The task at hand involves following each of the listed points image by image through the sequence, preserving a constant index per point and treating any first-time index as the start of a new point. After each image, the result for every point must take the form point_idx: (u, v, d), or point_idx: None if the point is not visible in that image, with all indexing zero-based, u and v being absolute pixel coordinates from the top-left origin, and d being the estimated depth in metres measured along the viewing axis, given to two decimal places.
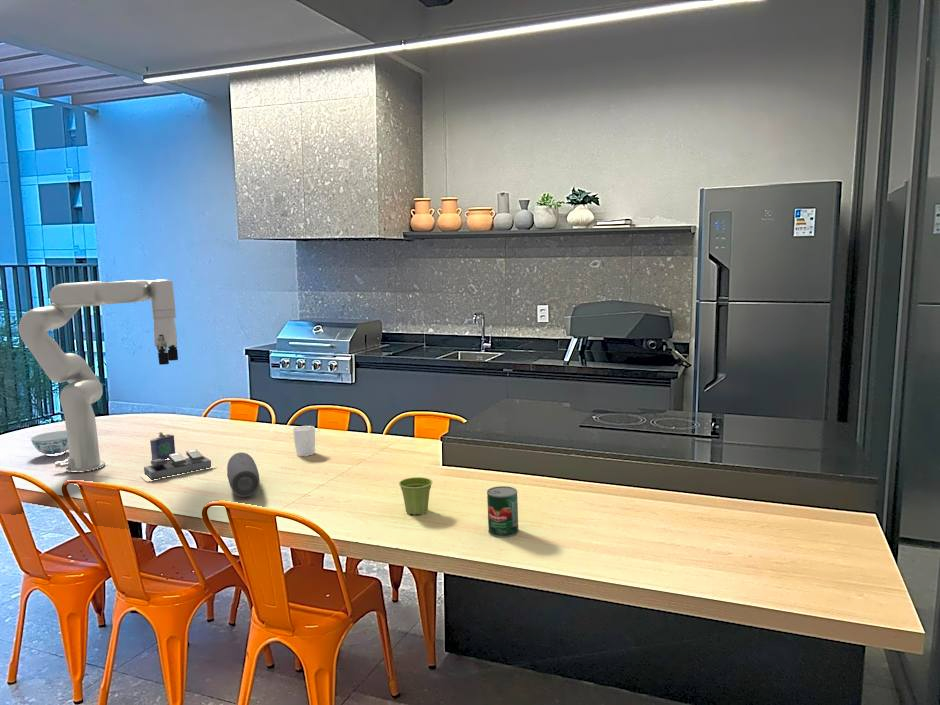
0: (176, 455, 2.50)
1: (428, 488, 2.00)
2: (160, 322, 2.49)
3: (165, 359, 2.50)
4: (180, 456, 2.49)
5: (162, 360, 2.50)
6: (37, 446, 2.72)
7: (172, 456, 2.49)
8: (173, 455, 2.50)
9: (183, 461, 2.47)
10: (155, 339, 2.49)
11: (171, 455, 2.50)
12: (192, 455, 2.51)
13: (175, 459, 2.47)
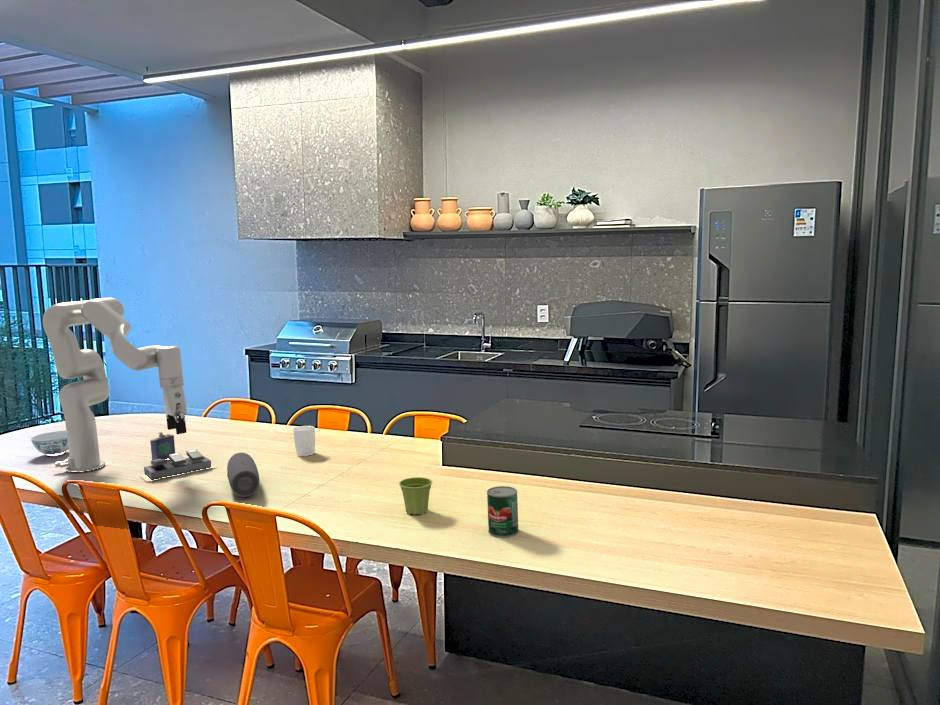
0: (176, 455, 2.50)
1: (428, 488, 2.00)
2: None
3: None
4: (180, 456, 2.49)
5: None
6: (37, 446, 2.72)
7: (172, 456, 2.49)
8: (173, 455, 2.50)
9: (183, 461, 2.47)
10: None
11: (171, 455, 2.50)
12: (192, 455, 2.51)
13: (175, 459, 2.47)
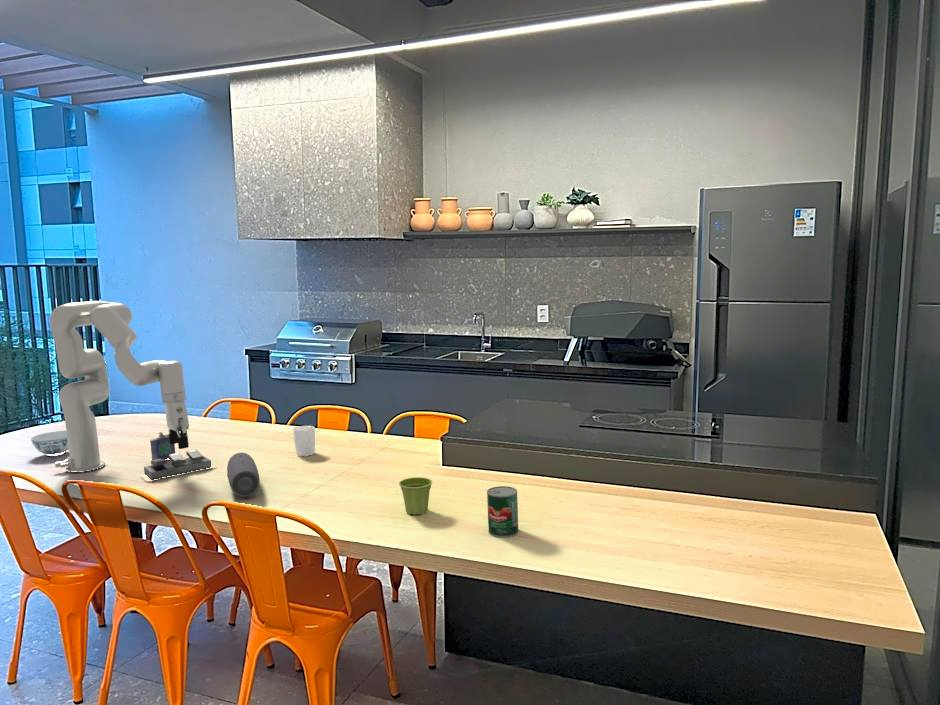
0: (176, 455, 2.50)
1: (428, 488, 2.00)
2: None
3: None
4: (180, 456, 2.49)
5: None
6: (37, 446, 2.72)
7: (172, 456, 2.49)
8: (173, 455, 2.50)
9: (183, 461, 2.47)
10: None
11: (171, 455, 2.50)
12: (192, 455, 2.51)
13: (175, 459, 2.47)
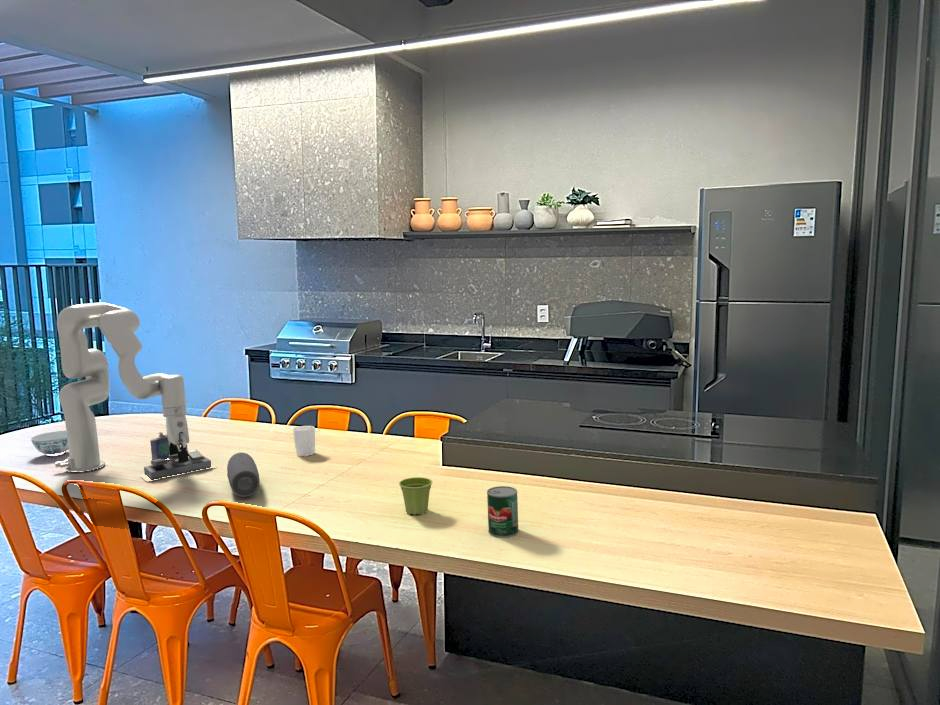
0: (176, 455, 2.50)
1: (428, 488, 2.00)
2: None
3: None
4: None
5: None
6: (37, 446, 2.72)
7: (172, 456, 2.49)
8: (173, 455, 2.50)
9: None
10: None
11: (171, 455, 2.50)
12: (192, 455, 2.51)
13: (175, 459, 2.47)
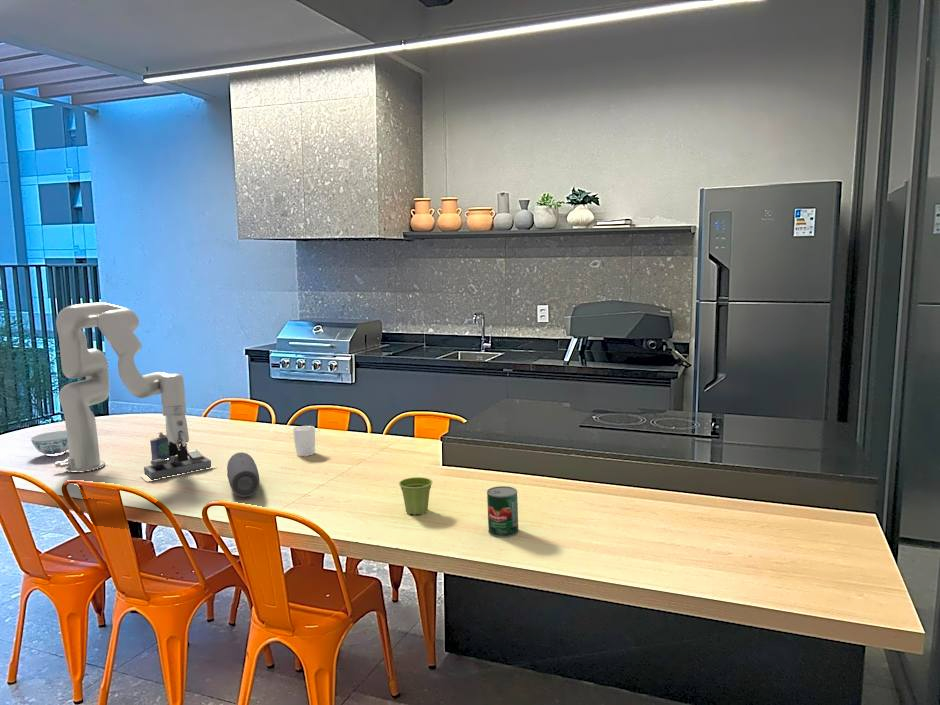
0: (176, 456, 2.50)
1: (428, 488, 2.00)
2: None
3: None
4: None
5: None
6: (37, 446, 2.72)
7: (172, 457, 2.49)
8: (173, 456, 2.51)
9: None
10: None
11: (171, 457, 2.50)
12: (192, 455, 2.51)
13: (175, 457, 2.47)
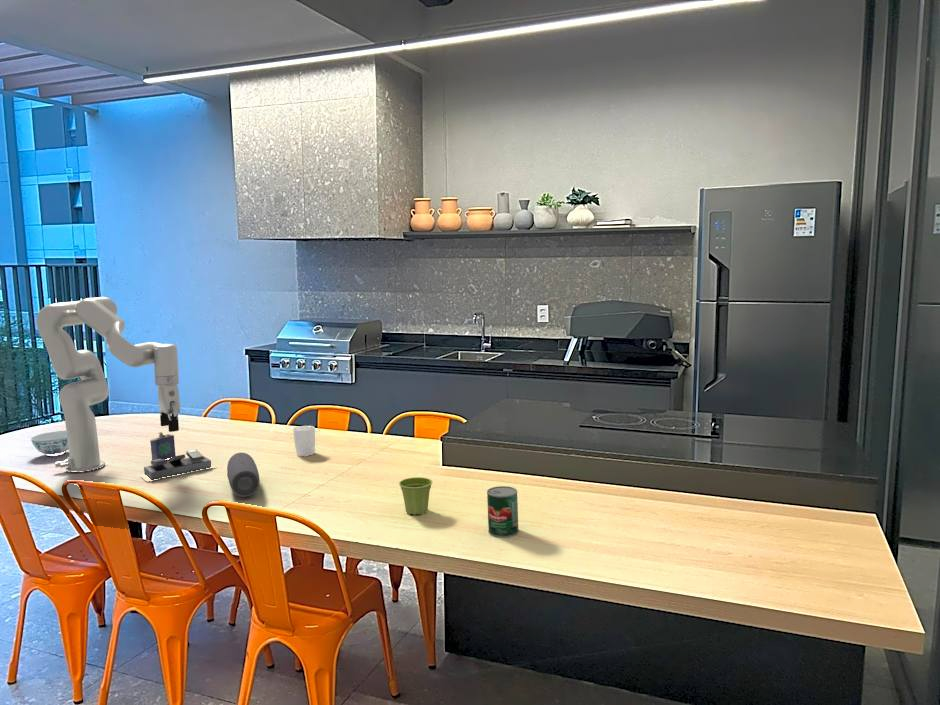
0: None
1: (428, 488, 2.00)
2: None
3: None
4: None
5: None
6: (37, 446, 2.72)
7: None
8: None
9: (182, 456, 2.47)
10: None
11: (171, 458, 2.50)
12: (192, 455, 2.51)
13: None
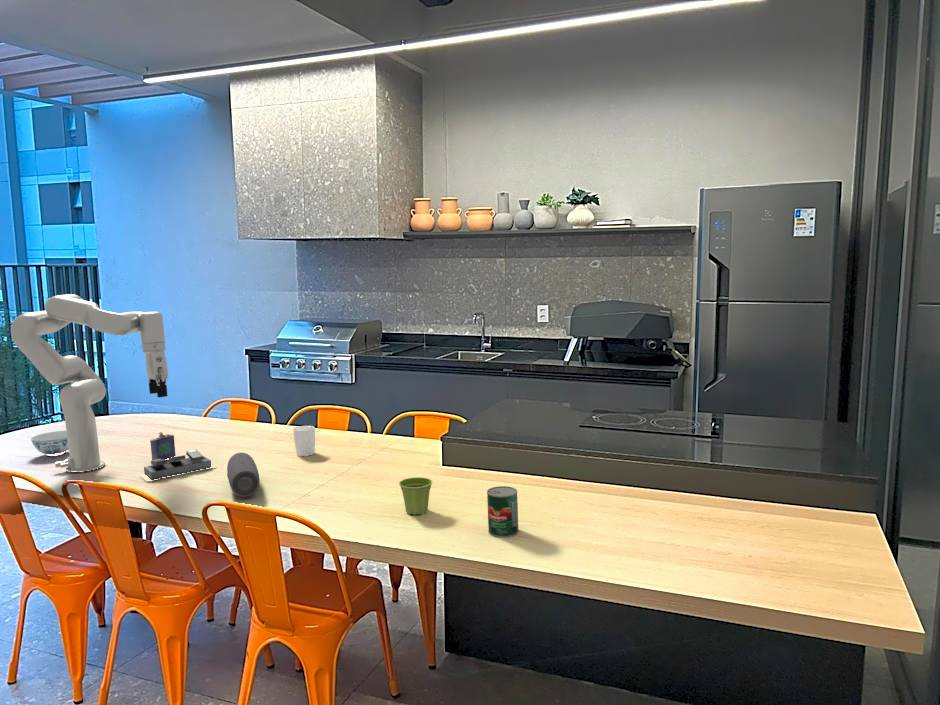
0: None
1: (428, 488, 2.00)
2: None
3: None
4: None
5: None
6: (37, 446, 2.72)
7: (172, 457, 2.49)
8: (173, 457, 2.51)
9: (182, 457, 2.47)
10: None
11: None
12: (192, 455, 2.51)
13: (174, 457, 2.47)
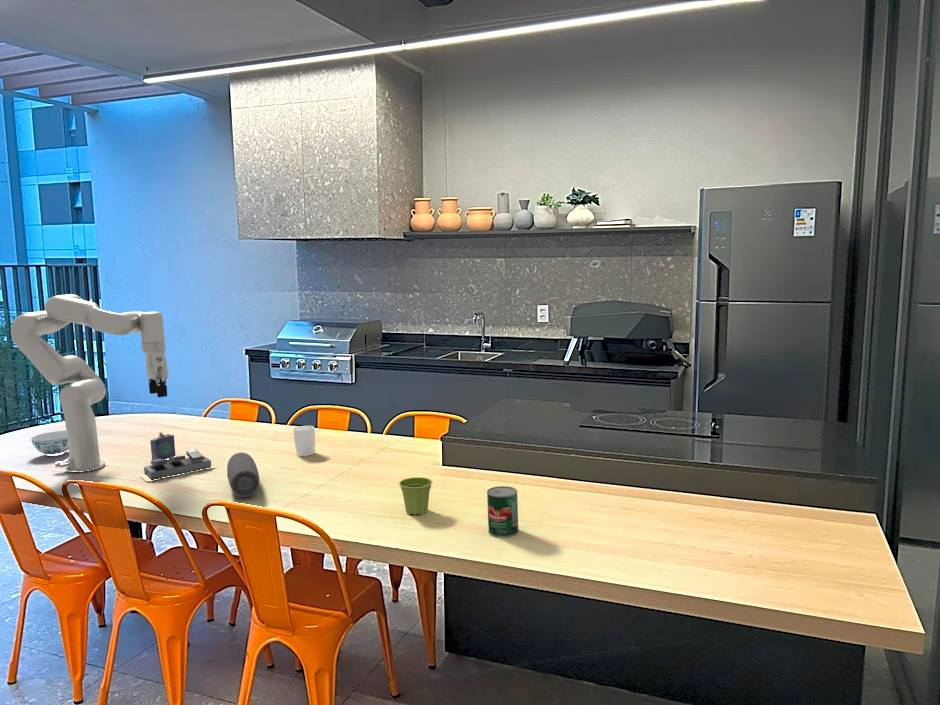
0: (176, 456, 2.50)
1: (428, 488, 2.00)
2: None
3: None
4: None
5: None
6: (37, 446, 2.72)
7: (172, 457, 2.49)
8: (173, 457, 2.51)
9: (182, 457, 2.47)
10: None
11: (171, 457, 2.50)
12: (192, 455, 2.51)
13: (174, 457, 2.47)
